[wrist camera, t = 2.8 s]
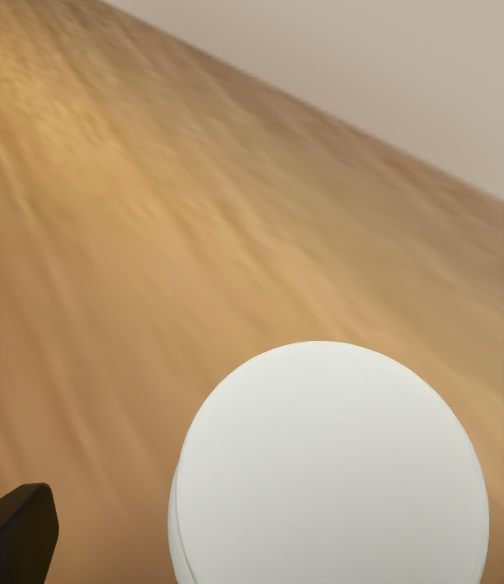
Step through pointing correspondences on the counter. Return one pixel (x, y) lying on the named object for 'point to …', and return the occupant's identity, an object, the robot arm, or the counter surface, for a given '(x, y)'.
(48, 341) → the counter surface
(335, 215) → the counter surface
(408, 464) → the supplement bottle
